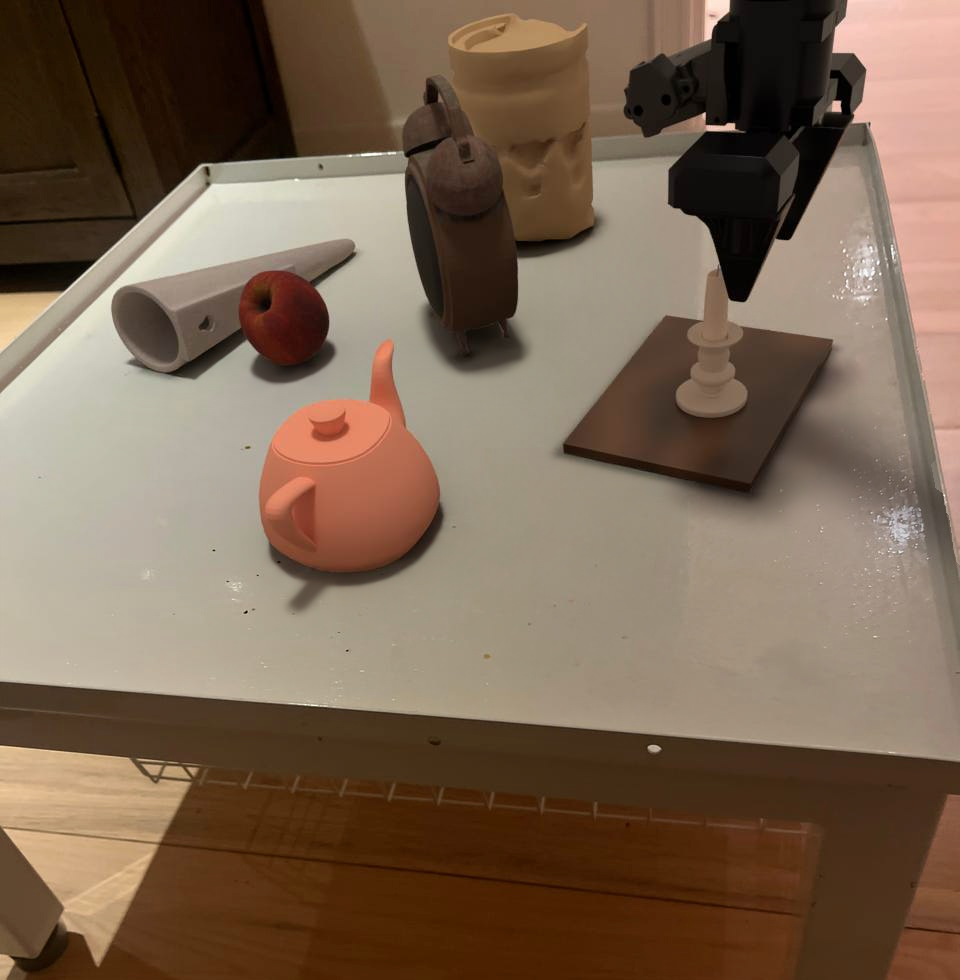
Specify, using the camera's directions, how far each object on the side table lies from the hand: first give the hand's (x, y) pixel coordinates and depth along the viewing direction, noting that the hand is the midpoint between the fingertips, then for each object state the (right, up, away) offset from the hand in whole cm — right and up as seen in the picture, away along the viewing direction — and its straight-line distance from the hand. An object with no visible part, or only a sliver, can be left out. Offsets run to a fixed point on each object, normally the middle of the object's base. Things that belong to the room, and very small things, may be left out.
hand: (761, 268), depth 63 cm
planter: (-41, +9, +32) cm, 52 cm away
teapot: (-27, -16, +6) cm, 32 cm away
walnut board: (-1, -6, +11) cm, 12 cm away
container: (-13, +18, +36) cm, 42 cm away
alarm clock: (-19, +3, +23) cm, 30 cm away
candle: (-1, -6, +9) cm, 11 cm away
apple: (-35, +1, +23) cm, 42 cm away
